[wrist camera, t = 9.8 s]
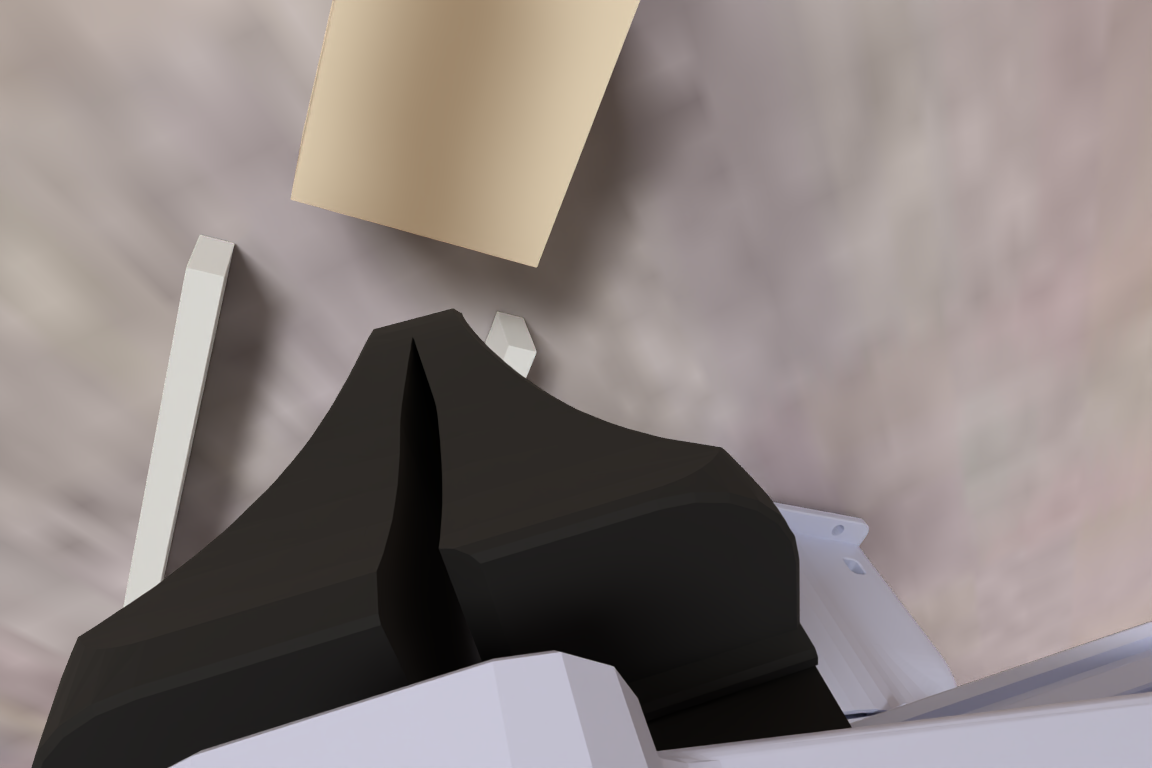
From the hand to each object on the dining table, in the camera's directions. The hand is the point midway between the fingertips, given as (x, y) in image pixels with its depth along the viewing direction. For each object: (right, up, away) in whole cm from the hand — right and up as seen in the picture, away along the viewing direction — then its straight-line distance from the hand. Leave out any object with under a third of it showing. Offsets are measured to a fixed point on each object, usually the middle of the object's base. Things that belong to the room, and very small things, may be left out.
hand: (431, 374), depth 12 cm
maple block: (-1, +8, +6) cm, 10 cm away
